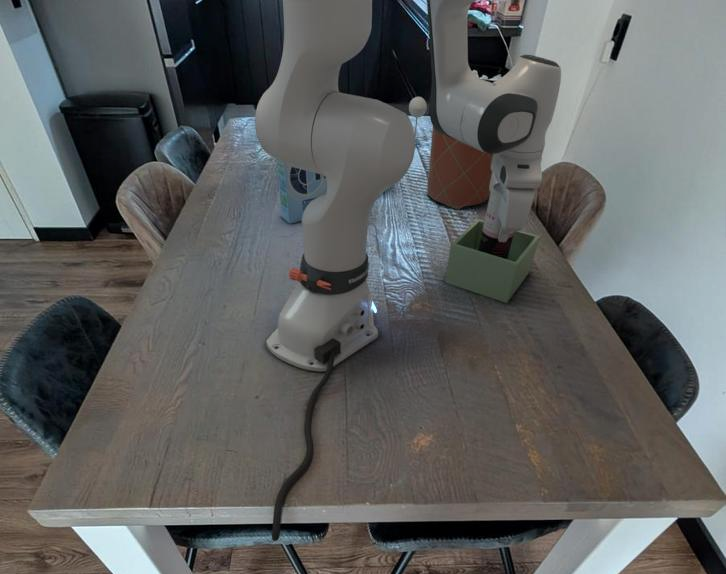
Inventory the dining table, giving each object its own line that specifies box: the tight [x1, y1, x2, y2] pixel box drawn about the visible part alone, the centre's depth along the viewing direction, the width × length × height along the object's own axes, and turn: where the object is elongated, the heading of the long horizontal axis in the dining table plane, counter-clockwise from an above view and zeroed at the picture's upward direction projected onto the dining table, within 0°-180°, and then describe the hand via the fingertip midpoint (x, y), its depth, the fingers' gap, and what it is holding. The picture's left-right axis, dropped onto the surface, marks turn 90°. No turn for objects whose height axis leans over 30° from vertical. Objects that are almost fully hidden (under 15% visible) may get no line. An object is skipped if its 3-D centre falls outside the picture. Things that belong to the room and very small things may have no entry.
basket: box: [444, 218, 541, 304], centre depth 104 cm, size 15×15×9 cm
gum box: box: [275, 158, 327, 225], centre depth 120 cm, size 20×5×23 cm, turn 123°
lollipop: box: [408, 96, 428, 139], centre depth 161 cm, size 6×6×15 cm
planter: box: [426, 126, 493, 210], centre depth 131 cm, size 19×19×20 cm
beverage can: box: [478, 183, 515, 259], centre depth 99 cm, size 6×6×15 cm
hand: (498, 231), depth 100 cm, fingers closed on beverage can, 6 cm apart
